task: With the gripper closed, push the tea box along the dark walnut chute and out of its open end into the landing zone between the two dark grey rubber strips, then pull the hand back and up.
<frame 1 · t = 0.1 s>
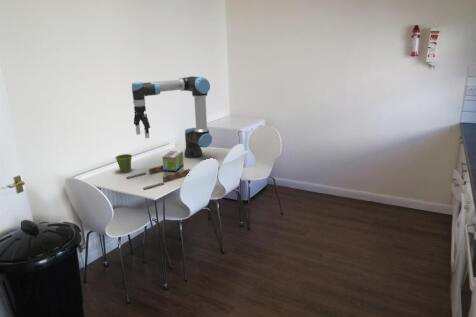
hand: (142, 136, 244), 28 cm above the table, fingers open, 13 cm apart
tea box: (174, 173, 253), on the table
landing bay: (144, 181, 239), on the table
walnut chute: (169, 174, 251), on the table
plant pot: (125, 171, 259), on the table
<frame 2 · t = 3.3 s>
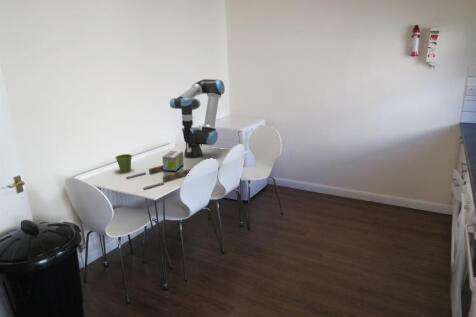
hand: (189, 151, 257), 13 cm above the table, fingers closed
nothing on the table moved.
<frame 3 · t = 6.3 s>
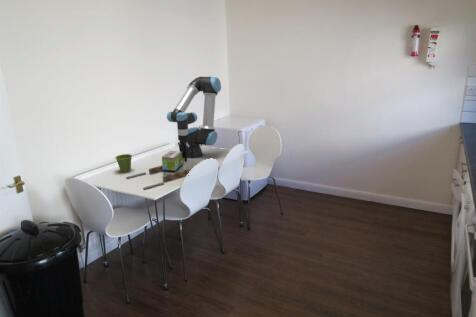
hand: (185, 165, 258), 3 cm above the table, fingers closed
tea box: (173, 173, 253), on the table, touching gripper
everything else where it was.
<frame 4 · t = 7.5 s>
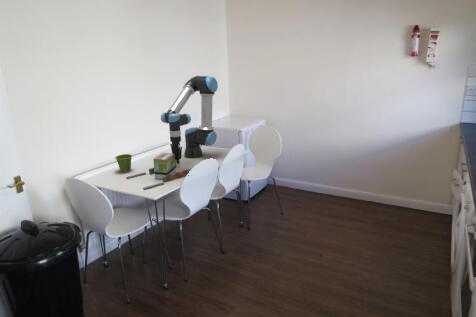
hand: (177, 167, 254), 4 cm above the table, fingers closed
tea box: (165, 175, 249), on the table, touching gripper
everything else where it was.
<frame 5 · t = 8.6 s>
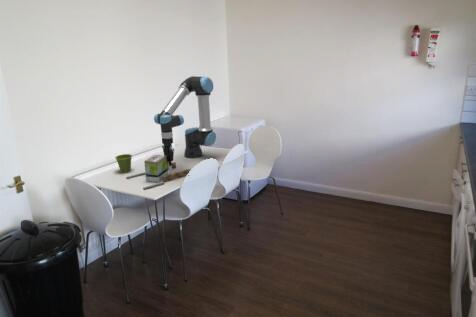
hand: (169, 169, 250), 4 cm above the table, fingers closed
tea box: (157, 178, 245), on the table, touching gripper
everything else where it was.
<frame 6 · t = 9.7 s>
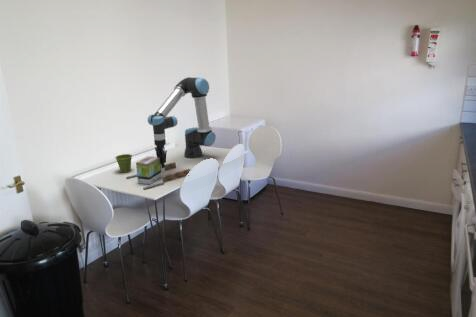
hand: (162, 171, 246), 4 cm above the table, fingers closed
tea box: (150, 180, 241), on the table, touching gripper
everything else where it was.
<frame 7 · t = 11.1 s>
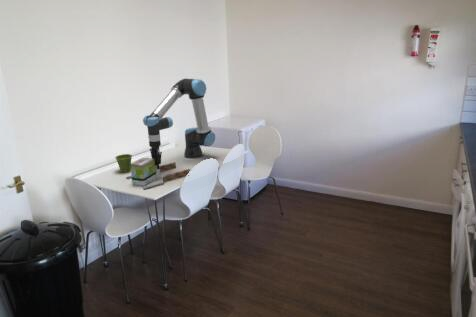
hand: (157, 173, 244), 3 cm above the table, fingers closed
tea box: (144, 181, 239), on the table, touching gripper
everything else where it was.
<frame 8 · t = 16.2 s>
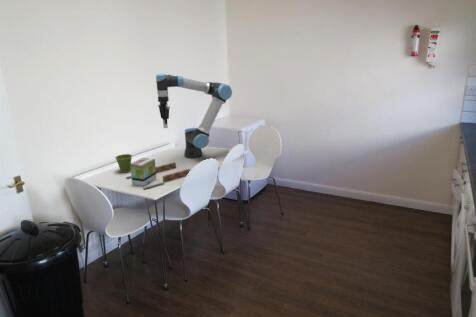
hand: (165, 127, 261), 29 cm above the table, fingers closed
tea box: (144, 181, 239), on the table
everything else where it was.
at the end: tea box inside the target area (1.3 cm from its centre), on the table; tea box tilted 0°; tea box moved 23.2 cm from its start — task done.
